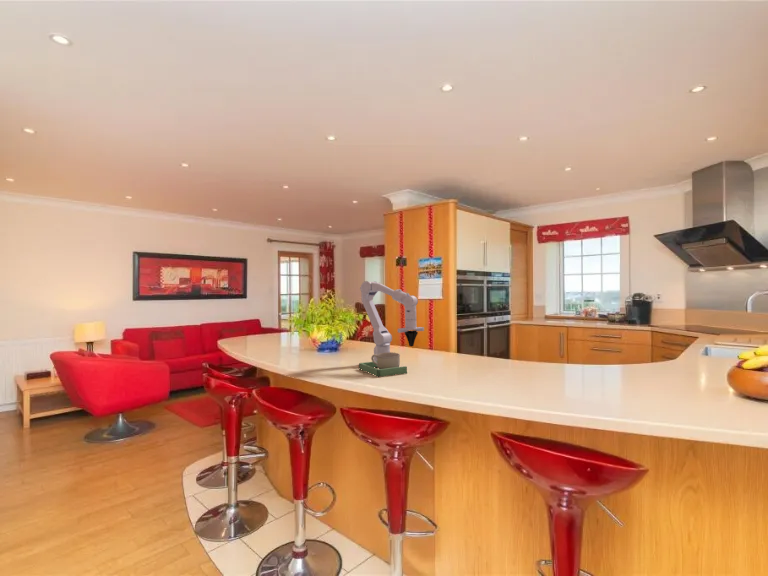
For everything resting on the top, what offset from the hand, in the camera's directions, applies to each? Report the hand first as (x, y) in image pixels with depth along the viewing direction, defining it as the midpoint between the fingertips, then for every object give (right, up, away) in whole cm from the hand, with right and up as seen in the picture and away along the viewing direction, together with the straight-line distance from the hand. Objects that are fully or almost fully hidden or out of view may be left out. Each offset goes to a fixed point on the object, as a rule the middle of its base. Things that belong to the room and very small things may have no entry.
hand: (411, 346), depth 195 cm
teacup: (-13, -10, -15) cm, 22 cm away
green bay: (-15, -9, -16) cm, 23 cm away
